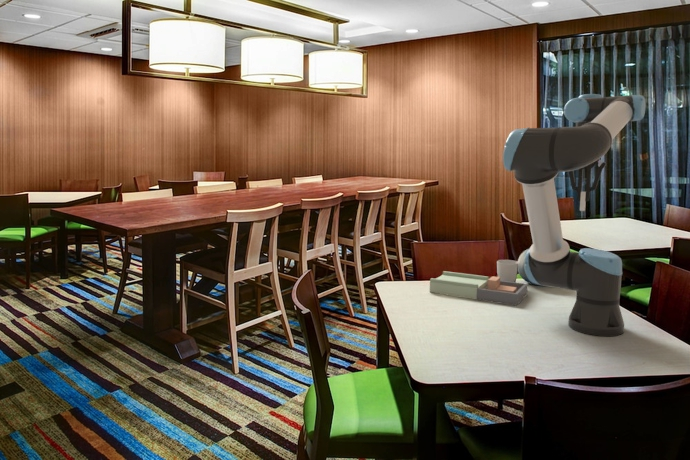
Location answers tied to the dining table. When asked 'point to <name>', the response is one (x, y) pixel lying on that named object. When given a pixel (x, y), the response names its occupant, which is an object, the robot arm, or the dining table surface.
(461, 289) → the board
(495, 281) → the tile rear
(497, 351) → the dining table surface
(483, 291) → the tray
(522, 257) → the decorative ball
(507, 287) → the tile front
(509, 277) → the cup
